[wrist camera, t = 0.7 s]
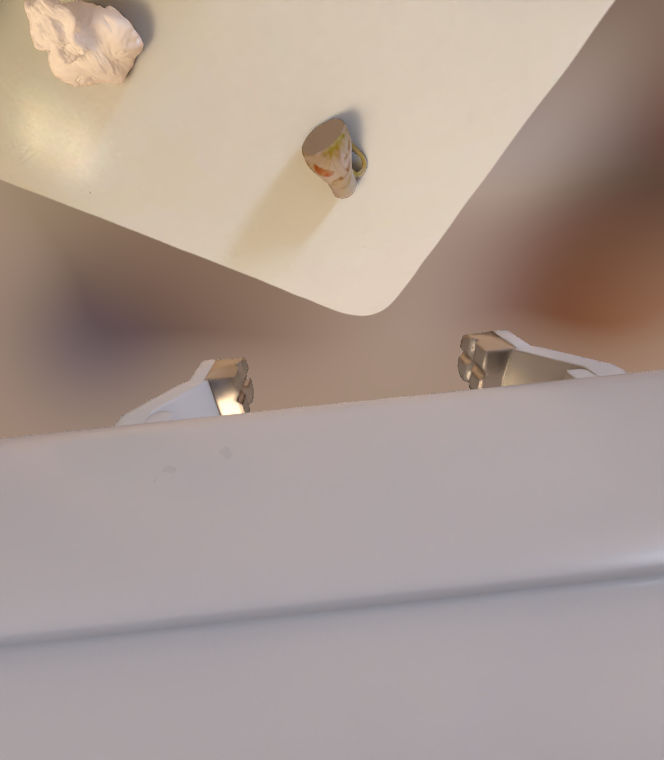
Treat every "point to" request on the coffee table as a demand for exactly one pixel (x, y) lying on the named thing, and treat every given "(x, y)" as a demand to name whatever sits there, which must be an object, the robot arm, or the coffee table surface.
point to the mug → (333, 157)
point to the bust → (83, 40)
